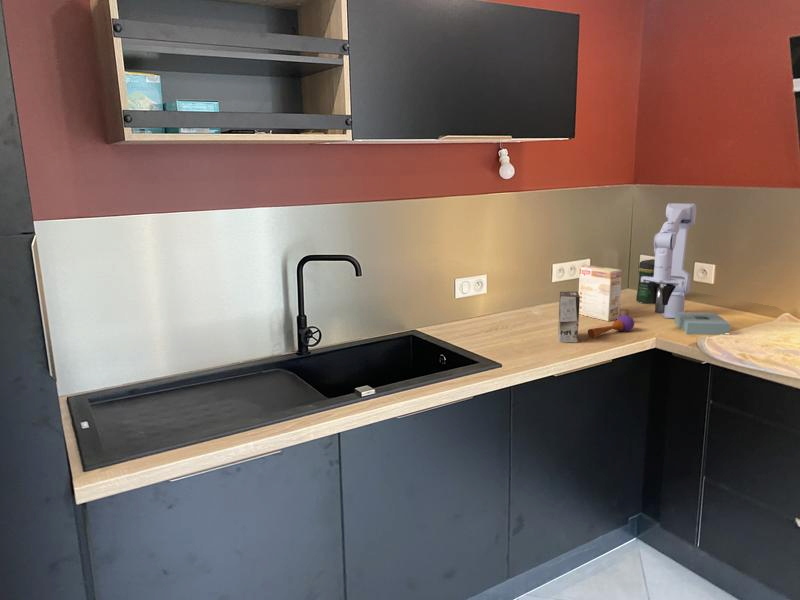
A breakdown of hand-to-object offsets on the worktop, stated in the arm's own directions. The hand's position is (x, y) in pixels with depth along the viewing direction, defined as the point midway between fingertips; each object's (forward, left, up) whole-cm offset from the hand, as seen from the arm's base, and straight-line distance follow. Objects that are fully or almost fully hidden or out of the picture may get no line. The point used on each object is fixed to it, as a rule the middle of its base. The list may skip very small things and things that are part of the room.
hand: (660, 304), depth 225 cm
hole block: (-4, +16, -10) cm, 19 cm away
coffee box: (+14, -33, -10) cm, 37 cm away
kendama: (+5, -17, -10) cm, 21 cm away
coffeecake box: (-19, -18, -10) cm, 28 cm away
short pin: (-10, -10, -10) cm, 17 cm away
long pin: (0, 0, -3) cm, 3 cm away
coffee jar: (-47, +7, -10) cm, 49 cm away
